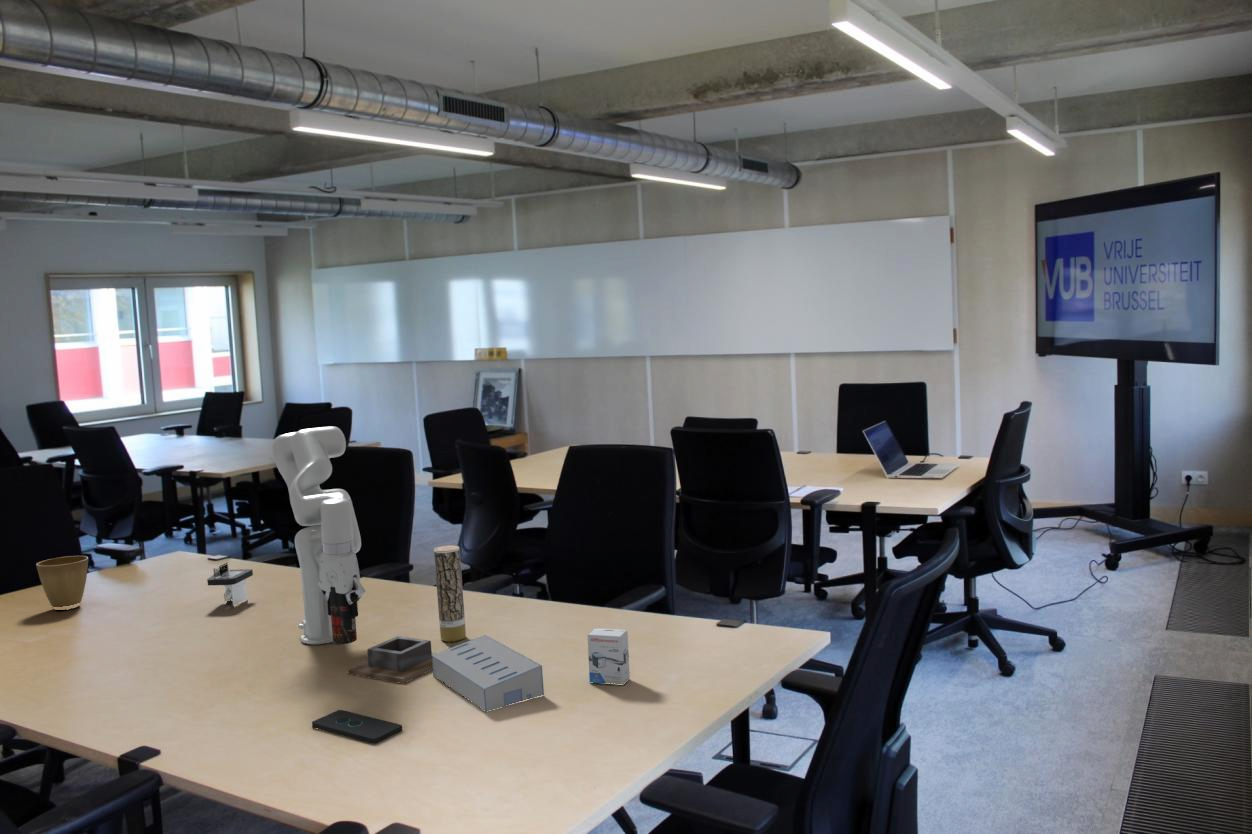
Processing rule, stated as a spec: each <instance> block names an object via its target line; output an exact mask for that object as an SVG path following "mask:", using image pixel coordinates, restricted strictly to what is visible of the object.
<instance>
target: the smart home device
mask: <svg viewBox="0 0 1252 834" xmlns="http://www.w3.org/2000/svg"><path fill="white" fill-rule="evenodd" d="M311 726H312V728H313V729H315V728H318V729H317V730H319V729H321V730H320V731H323V730H324V731H323V732H326V731H327V733H329V734H334V735H337V736H338V735H339V736H341V735H342V736H341V737H346V738H350V739H353V740H357V741H361V742H365V743H368V744H371V745H377V744H379V743H381V742H383V741H384V740H387V739H389V738H391V737H393V736H395V735H397V734H399V733H401V732H403V725H402V724H400V723H397V722H393V721H388V720H384V719H379V718H376V717H371V716H368V715H364V714H360V713H356V712H351V711H349V710H348V711H347V710H343V709H337V710H335V711H333V712H331V713H329V714H326V715H324V716H321V717H320V718H317V719H314V720H312V721H311Z"/></svg>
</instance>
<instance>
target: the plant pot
mask: <svg viewBox="0 0 1252 834" xmlns="http://www.w3.org/2000/svg"><path fill="white" fill-rule="evenodd" d="M88 564H89V557H88V556H86V555H73V556H72V555H69V556H68V555H67V556H61V557H55V558H49V559H46V560H42V561H39V562H36V564H35V565H36V570H37V573H38V577H39V581H40V583H41V586H42V588H43V591H44V594H45V596H46V598H47V599H48V601H49V604H50V605H51V607H52V606H53V607H63V606H70V605H74V604H77V603H80V602H81V603H82V601H83V596H84V592H85V587H86V582H87V575H88V566H89V565H88ZM81 603H80V604H81ZM53 607H52V608H53Z"/></svg>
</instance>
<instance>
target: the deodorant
mask: <svg viewBox="0 0 1252 834" xmlns="http://www.w3.org/2000/svg"><path fill="white" fill-rule="evenodd" d="M330 591H331V592H329V595H330V609H331V622H332V636H333V642H332V643H334V644H336V645H348V644H353V643H354V642H356V641H357V639H358V637H357V634H358V633H357V619H356V617H355V618H352V619H348V618H347V606H346V605H347V604H349V603H348V601H347V598H346V595H344V594H338V593H336V590H335V587H331V586H330ZM350 595H351V598H352V597H353V595H352V593H350Z"/></svg>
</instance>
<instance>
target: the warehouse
mask: <svg viewBox="0 0 1252 834" xmlns="http://www.w3.org/2000/svg"><path fill="white" fill-rule="evenodd" d="M435 653H436V654H434V655H432V668H433V669H432V676H435V677H436V678H435V677H434V678H435V679H437V678H438V679H439V680H438V679H437V680H438V681H440V680H441V681H442V682H441V681H440V682H441V683H443V682H444V683H445V684H444V683H443V684H444V685H446V686H447V685H448V686H450V687H451V688H452V690H453V689H454V690H455V691H454V690H453V691H454V692H456V691H457V692H458V693H457V692H456V693H457V694H459V693H460V694H461V695H463V696H464V697H466V698H467V699H469V700H470V701H472V702H473V703H474V704H473V703H472V702H471V703H472V704H473V705H475V704H476V705H477V706H479V707H481V708H482V709H483V710H485V711H484V713H488V712H487V711H489V710H493V709H497V708H500V707H504V706H506V705H509V704H512V703H516V702H519V701H523V700H526V699H530V698H534V697H537V696H541V695H544V696H545V693H544V692H545V691H544V690H545V689H544V676H543V665H542V664H540V663H538V662H537V661H534V660H533V659H532V658H529V657H527V656H525V655H524V654H522V653H520V652H518V651H516V650H514V649H513V648H511V647H509V646H506V645H505V644H503V643H501V642H499V641H497V640H495V639H494V638H492V637H490V636H489V635H486V634H484V635H481V636H479V637H475V638H473V639H471V640H468V641H464V642H463V643H459V644H457V645H455V646H453V647H452V646H451V647H450V648H448V649H445V650H442V651H439V652H435ZM448 686H447V687H448ZM450 687H449V688H450ZM451 688H450V689H451ZM460 694H459V695H460ZM461 695H460V696H461ZM463 696H462V697H463ZM464 697H463V698H464ZM466 698H465V699H466ZM467 699H466V700H467ZM469 700H468V701H469ZM470 701H469V702H470ZM476 705H475V706H476ZM477 706H476V707H477ZM479 707H478V708H479ZM506 707H507V706H506ZM504 708H505V707H504ZM482 709H481V710H482ZM500 709H501V708H500ZM483 710H482V711H483ZM497 710H498V709H497ZM493 711H494V710H493ZM489 712H490V711H489Z"/></svg>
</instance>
